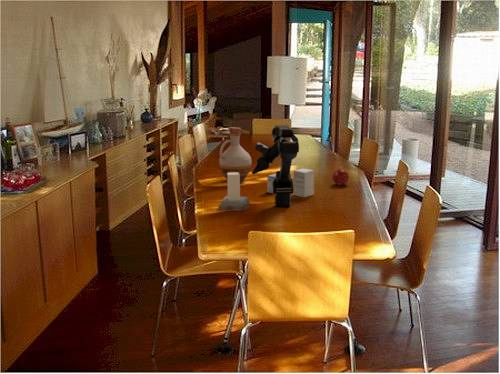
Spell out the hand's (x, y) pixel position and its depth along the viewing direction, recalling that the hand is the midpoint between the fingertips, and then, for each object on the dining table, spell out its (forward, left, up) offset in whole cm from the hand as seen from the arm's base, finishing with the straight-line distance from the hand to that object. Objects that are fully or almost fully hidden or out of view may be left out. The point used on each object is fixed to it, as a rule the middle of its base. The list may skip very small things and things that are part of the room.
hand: (253, 171), depth 256 cm
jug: (+18, -36, -14) cm, 42 cm away
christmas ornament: (-40, -37, -14) cm, 56 cm away
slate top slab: (+6, +15, -12) cm, 20 cm away
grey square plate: (+6, +15, -14) cm, 22 cm away
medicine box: (-8, -17, -14) cm, 23 cm away
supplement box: (-23, -12, -14) cm, 29 cm away
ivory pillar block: (+6, +16, -10) cm, 20 cm away
